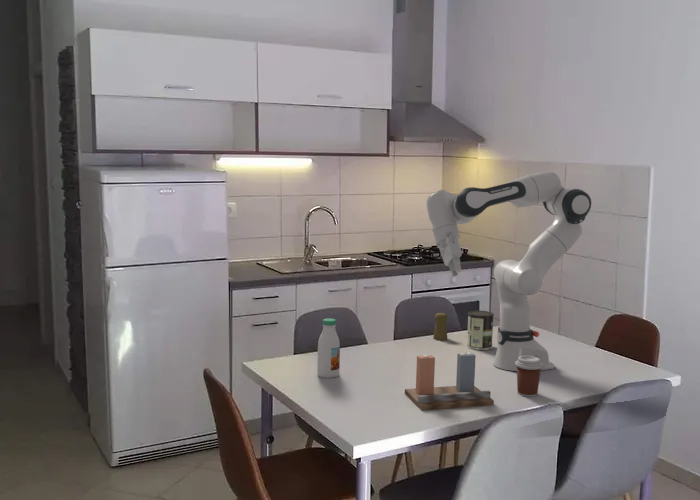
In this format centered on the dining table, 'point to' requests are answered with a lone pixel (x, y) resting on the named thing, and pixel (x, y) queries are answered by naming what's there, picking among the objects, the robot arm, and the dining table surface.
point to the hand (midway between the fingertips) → (457, 273)
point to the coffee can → (480, 330)
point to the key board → (450, 398)
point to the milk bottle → (328, 350)
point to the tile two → (465, 372)
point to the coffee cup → (528, 375)
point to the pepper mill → (440, 327)
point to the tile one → (425, 374)
